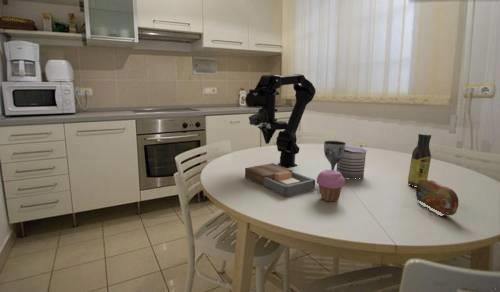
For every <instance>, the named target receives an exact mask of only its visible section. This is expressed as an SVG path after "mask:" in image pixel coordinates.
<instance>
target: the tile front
mask: <svg viewBox="0 0 500 292" xmlns="http://www.w3.org/2000/svg"><path fill="white" fill-rule="evenodd" d="M279 183H281V184H283V185H285V186H287V185H292V184H296V183H300V181H299V180H296V179H294V178H288V179H283V180H279Z"/></svg>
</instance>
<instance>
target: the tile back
mask: <svg viewBox="0 0 500 292" xmlns="http://www.w3.org/2000/svg"><path fill="white" fill-rule="evenodd" d="M292 172H293V171H292ZM292 172H289V171H284V172H278V173H275V176H274V181H276V182H278V183H279V180H283V179H288V178H292Z"/></svg>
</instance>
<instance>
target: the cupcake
mask: <svg viewBox="0 0 500 292" xmlns="http://www.w3.org/2000/svg"><path fill="white" fill-rule="evenodd" d="M316 183H317V184H318V190H319V194H320V197H321V198H322V199H324V201H325V202H338V201H339V199H340V196H341V192H342V188H343V187H344V186H345V185H346V179H345V178H343V176H342V174H341V173H340V172H339V171H336V170H335V169H334V170H331V169H323V170H322V171H320V172H319V173H318V175H317V177H316Z"/></svg>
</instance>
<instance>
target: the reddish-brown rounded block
mask: <svg viewBox="0 0 500 292" xmlns="http://www.w3.org/2000/svg"><path fill="white" fill-rule="evenodd" d="M415 188H416V189H415V194H416V195H415V196H416V199H417V201H418V200H419V201H421V202H423V203H425V204H426V205H428V206H430V207H431V208H433V209H435V210H437V211H439V212H441V213H442V214H444V215H451V216H453V215H455V214H456V213H457V210H458V207H459V197H458V194H457V193H456V191H454V190H453V189H452V188H450V187H448V186H445V185H443V184H441V183H439V182H436V181H435V180H434V181H433V180H430V179H429V180H428V179H427V180H422V181H420V182H419V184H418V185H417V187H415Z"/></svg>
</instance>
